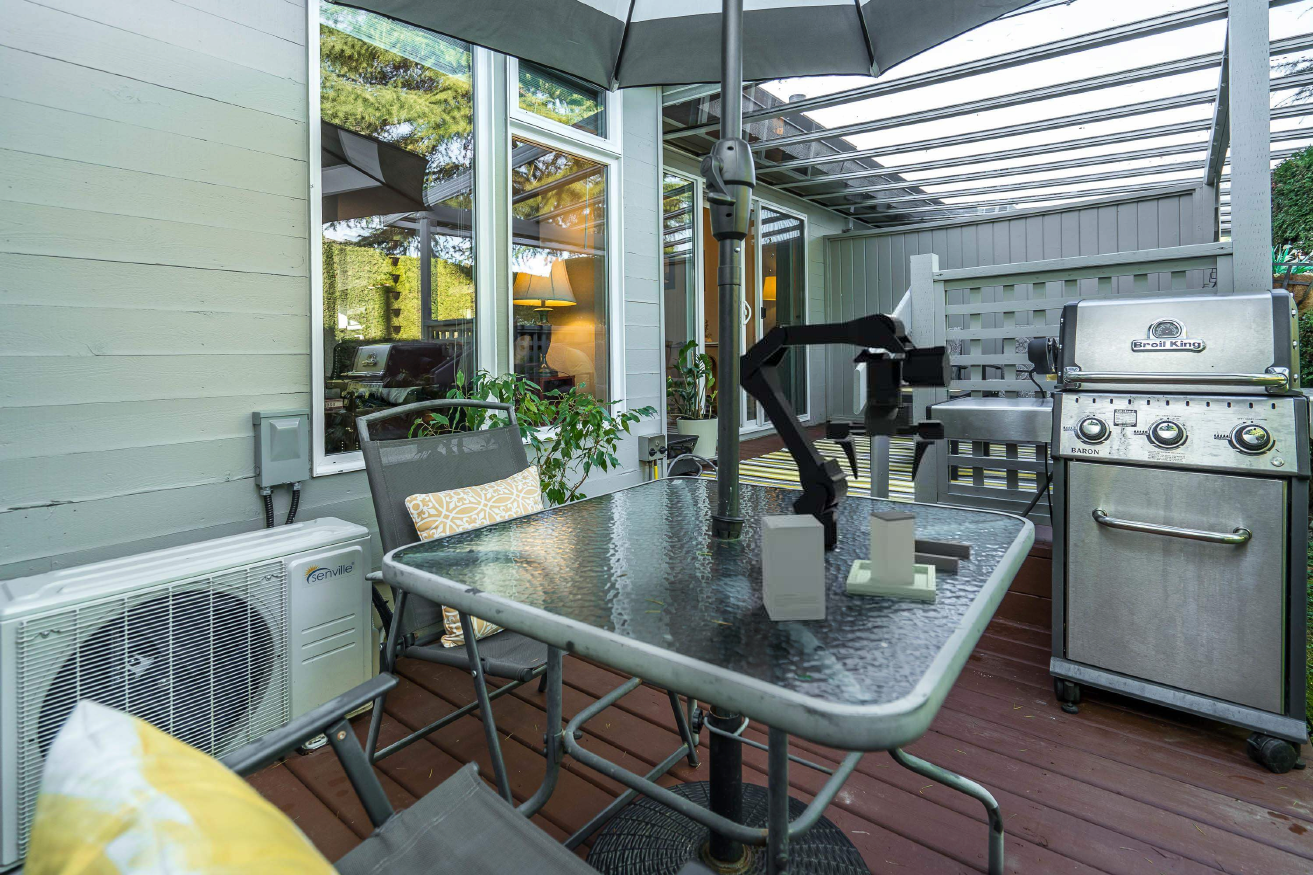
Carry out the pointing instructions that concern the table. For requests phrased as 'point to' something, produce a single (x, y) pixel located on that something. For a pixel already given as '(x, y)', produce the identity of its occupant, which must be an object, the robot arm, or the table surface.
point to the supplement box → (793, 567)
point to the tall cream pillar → (892, 547)
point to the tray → (866, 585)
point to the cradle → (940, 548)
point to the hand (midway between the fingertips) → (884, 479)
